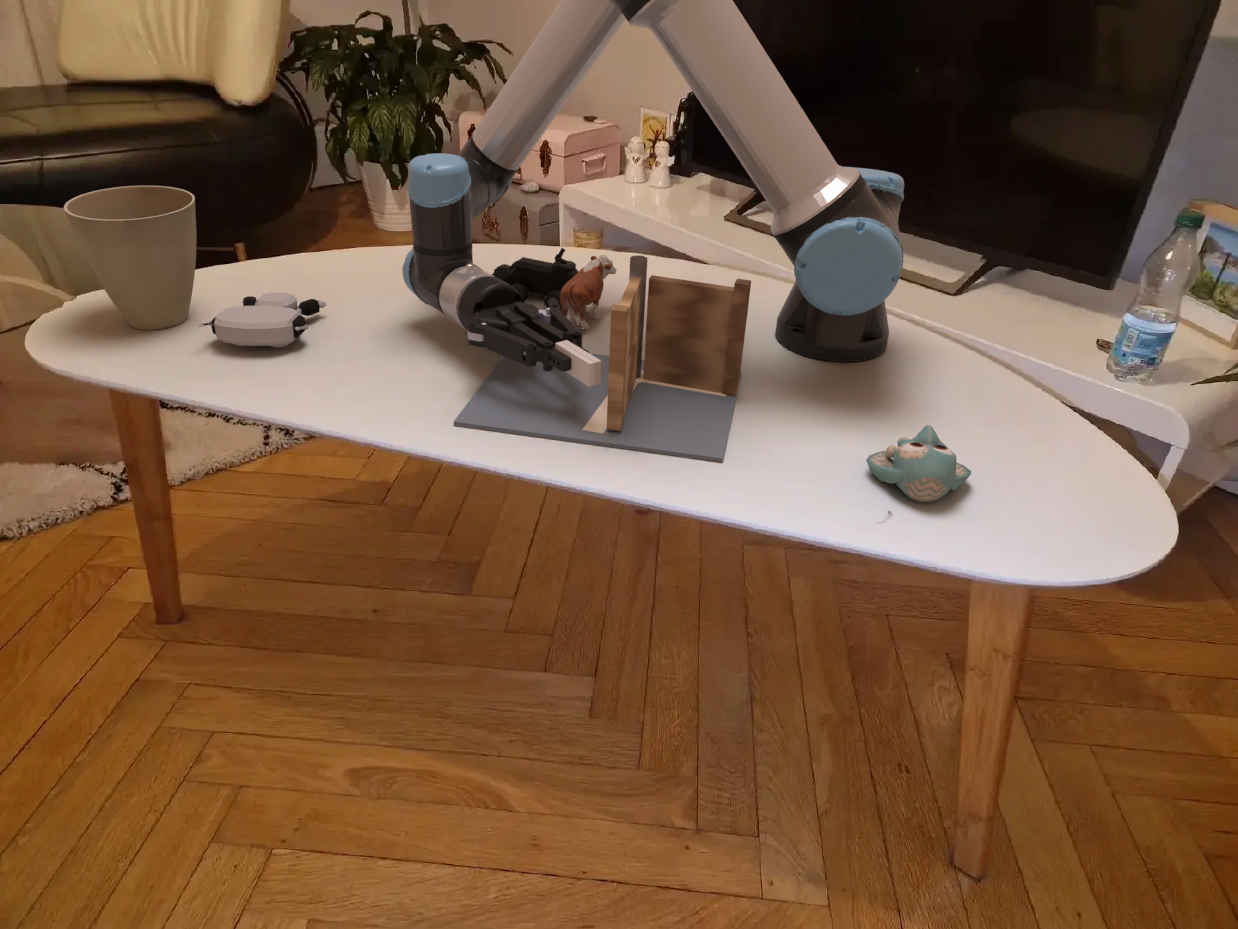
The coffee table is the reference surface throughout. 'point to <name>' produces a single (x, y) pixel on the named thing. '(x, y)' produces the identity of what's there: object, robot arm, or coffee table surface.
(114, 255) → the plant pot
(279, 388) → the coffee table surface
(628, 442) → the board
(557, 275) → the toy vehicle
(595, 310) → the bull figurine
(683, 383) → the rod
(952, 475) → the stuffed animal
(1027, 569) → the coffee table surface
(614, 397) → the fence panel
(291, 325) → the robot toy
